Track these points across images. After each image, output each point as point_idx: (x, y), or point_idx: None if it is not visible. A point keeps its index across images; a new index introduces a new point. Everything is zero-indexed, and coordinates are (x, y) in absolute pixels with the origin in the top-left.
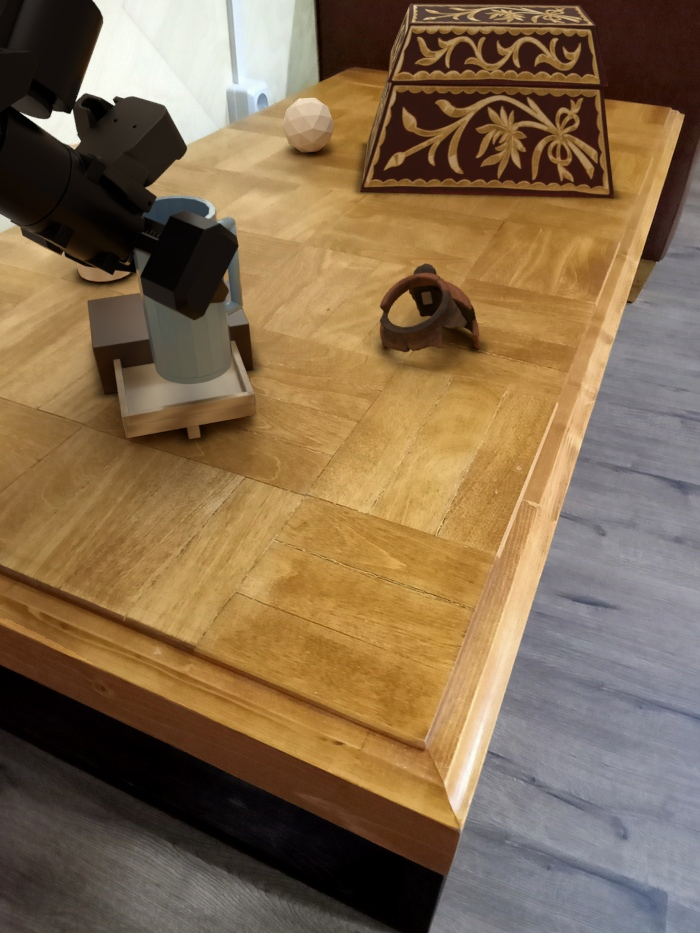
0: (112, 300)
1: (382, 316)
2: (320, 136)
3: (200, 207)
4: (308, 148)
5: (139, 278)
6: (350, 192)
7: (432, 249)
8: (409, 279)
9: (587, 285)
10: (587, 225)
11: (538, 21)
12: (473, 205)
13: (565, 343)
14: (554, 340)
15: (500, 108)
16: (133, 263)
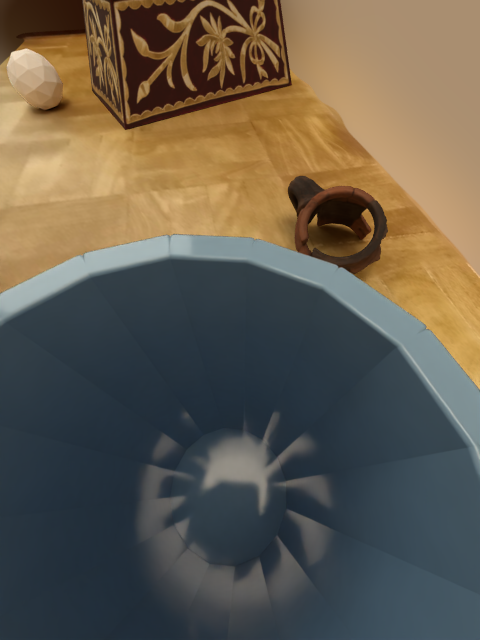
0: None
1: (313, 251)
2: (55, 88)
3: (211, 281)
4: (49, 103)
5: None
6: (118, 132)
7: (230, 160)
8: (318, 200)
9: (355, 152)
10: (301, 108)
11: None
12: (217, 115)
13: (403, 205)
14: (394, 206)
15: (209, 15)
16: None
